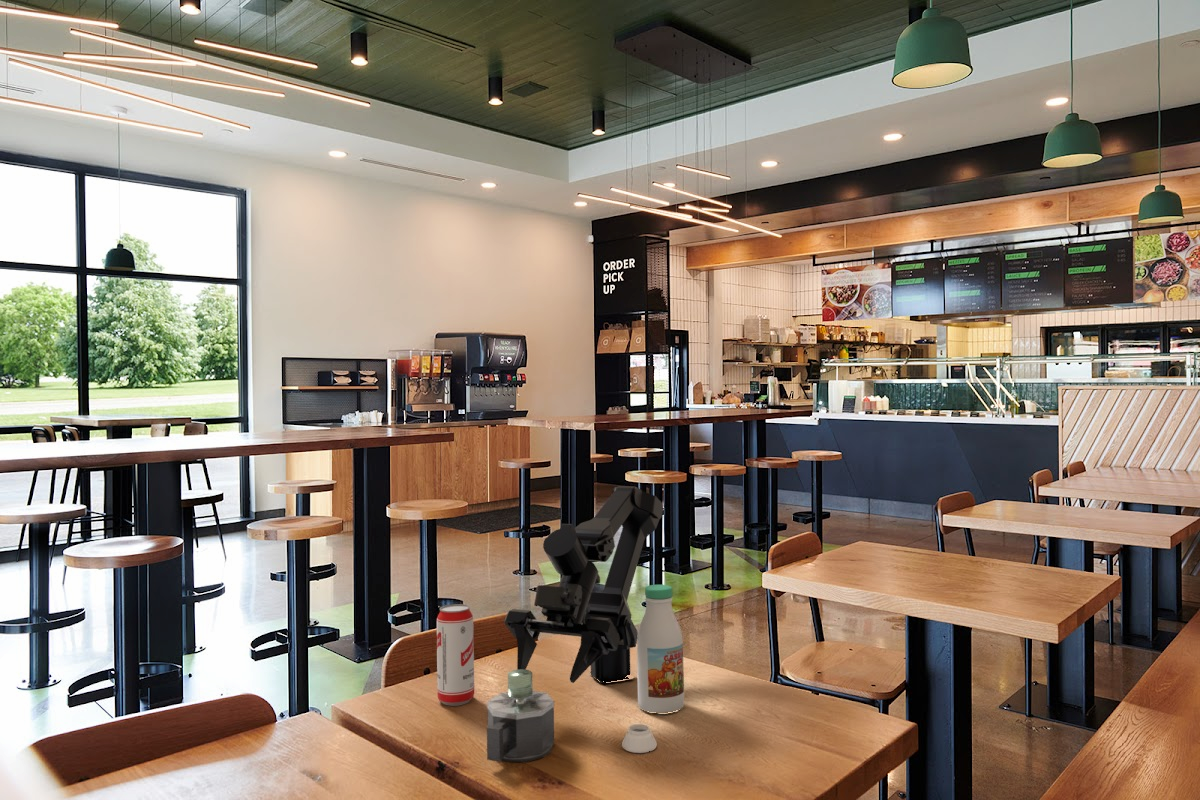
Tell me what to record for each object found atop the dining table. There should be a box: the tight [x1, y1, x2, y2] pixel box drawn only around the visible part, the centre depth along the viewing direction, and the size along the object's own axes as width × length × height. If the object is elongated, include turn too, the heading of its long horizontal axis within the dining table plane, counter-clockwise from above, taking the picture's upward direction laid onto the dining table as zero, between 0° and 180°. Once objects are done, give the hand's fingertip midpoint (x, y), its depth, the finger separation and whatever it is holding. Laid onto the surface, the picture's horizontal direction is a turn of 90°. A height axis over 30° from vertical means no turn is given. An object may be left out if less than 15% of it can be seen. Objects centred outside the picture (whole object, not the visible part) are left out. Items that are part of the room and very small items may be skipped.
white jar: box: [621, 723, 658, 754], centre depth 117 cm, size 5×3×5 cm
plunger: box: [507, 669, 534, 704], centre depth 117 cm, size 4×4×10 cm
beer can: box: [436, 603, 475, 707], centre depth 138 cm, size 6×6×16 cm
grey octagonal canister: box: [486, 690, 555, 764], centre depth 116 cm, size 12×9×7 cm
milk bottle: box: [636, 584, 685, 713], centre depth 133 cm, size 8×8×20 cm
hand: (545, 677), depth 124 cm, fingers open, 9 cm apart
